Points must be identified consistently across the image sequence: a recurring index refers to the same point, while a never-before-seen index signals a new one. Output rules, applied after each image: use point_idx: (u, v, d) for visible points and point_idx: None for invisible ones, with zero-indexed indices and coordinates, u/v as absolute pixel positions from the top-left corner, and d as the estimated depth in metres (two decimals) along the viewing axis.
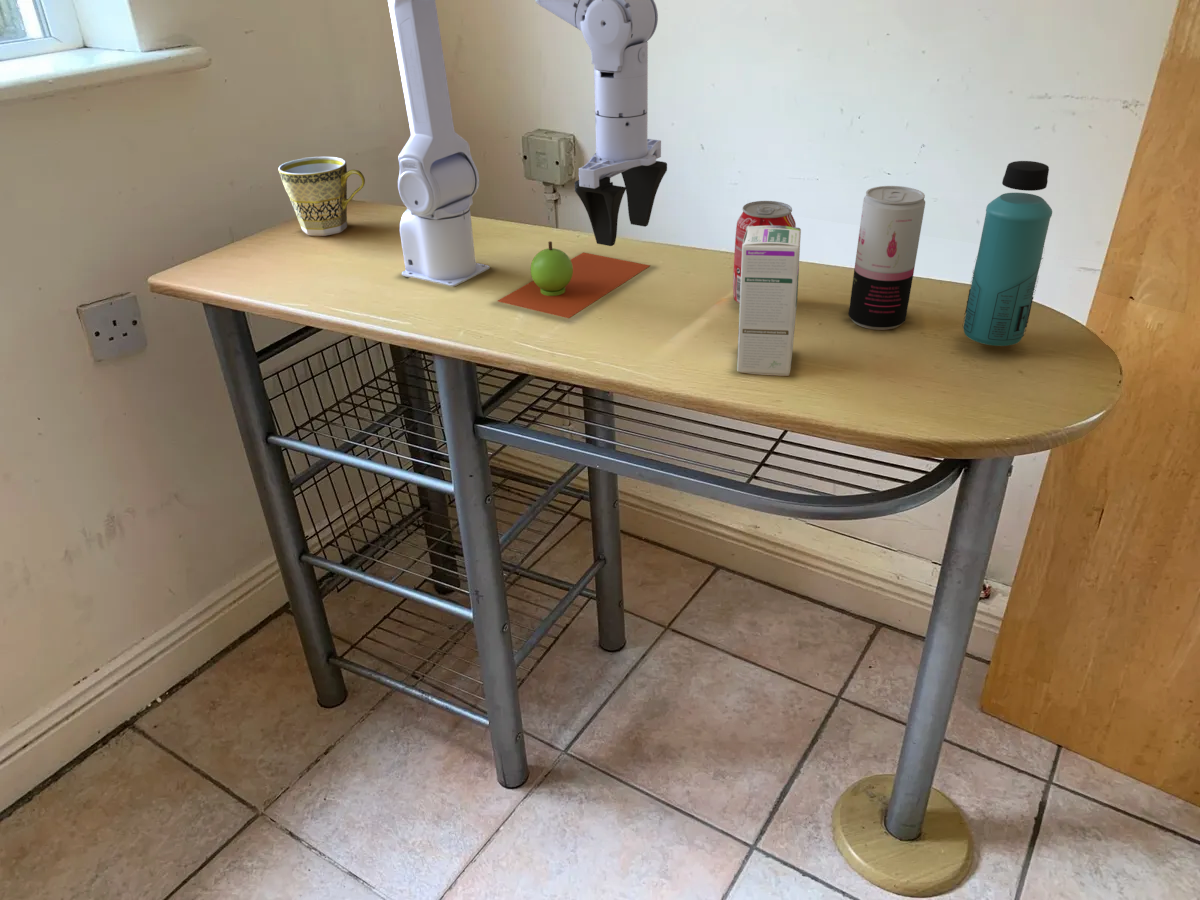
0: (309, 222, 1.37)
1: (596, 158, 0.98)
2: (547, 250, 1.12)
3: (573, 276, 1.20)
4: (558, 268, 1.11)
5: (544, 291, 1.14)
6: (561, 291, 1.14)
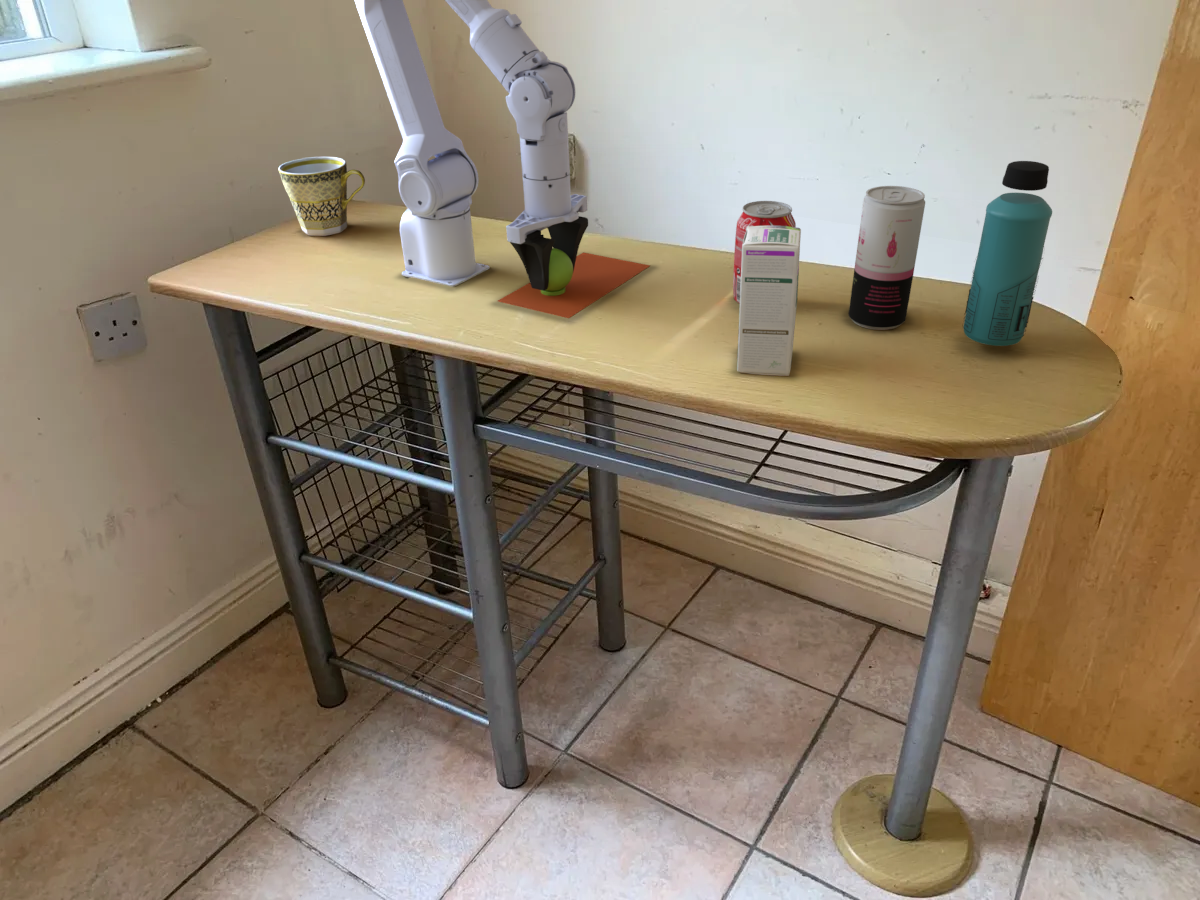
0: (309, 222, 1.37)
1: (524, 215, 1.09)
2: None
3: (573, 276, 1.20)
4: (558, 268, 1.11)
5: (544, 291, 1.14)
6: (561, 291, 1.14)
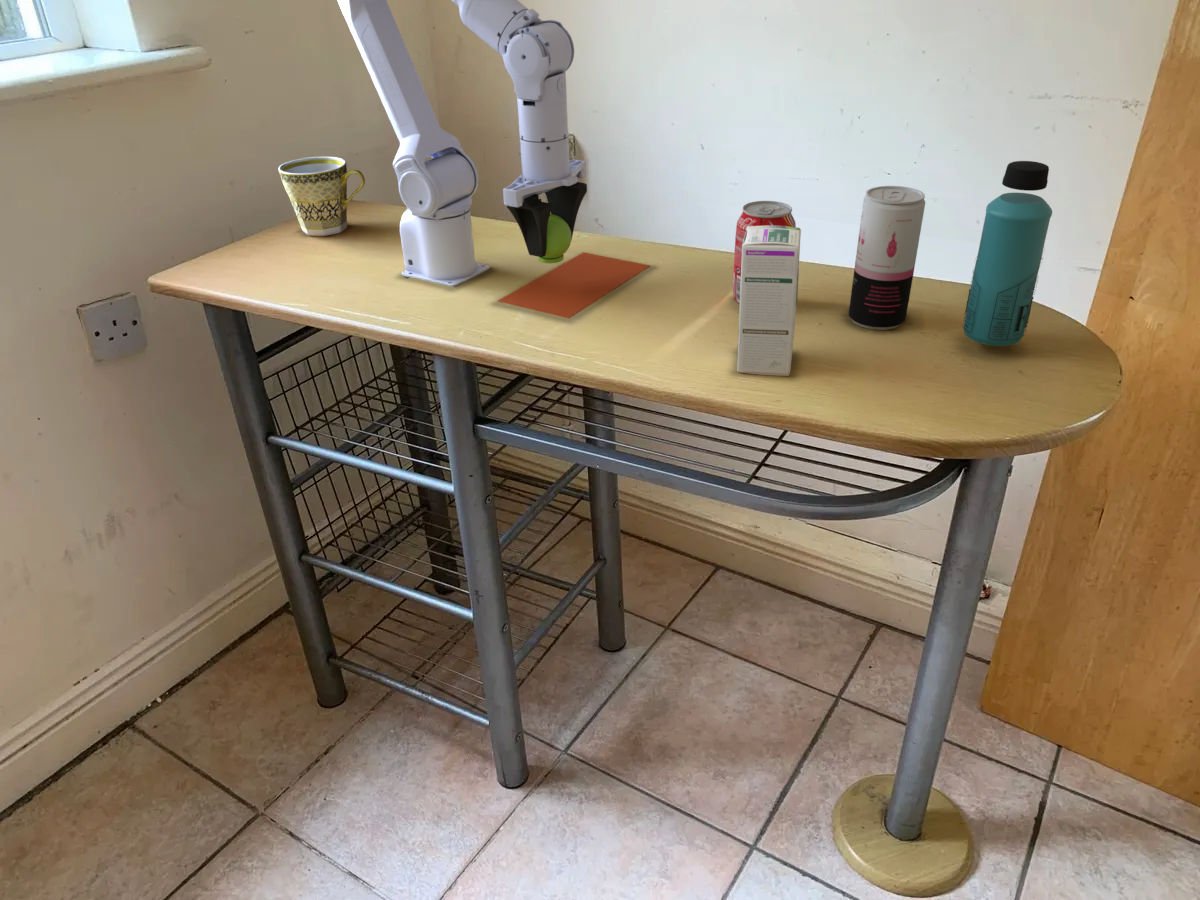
0: (309, 222, 1.37)
1: (522, 178, 1.06)
2: None
3: (573, 276, 1.20)
4: (556, 234, 1.09)
5: (542, 258, 1.12)
6: (559, 258, 1.12)
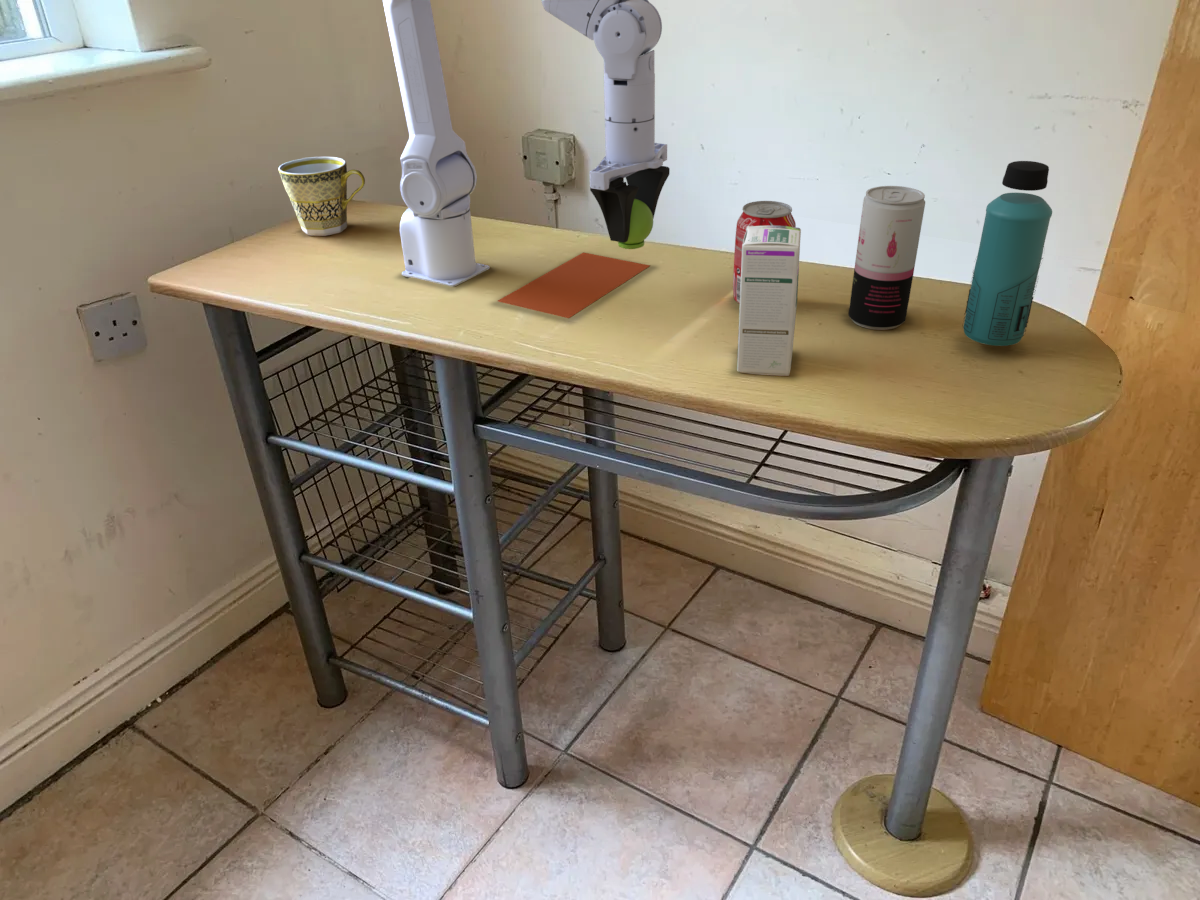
0: (309, 222, 1.37)
1: (606, 161, 1.03)
2: None
3: (573, 276, 1.20)
4: (639, 218, 1.06)
5: (623, 244, 1.09)
6: (640, 244, 1.09)
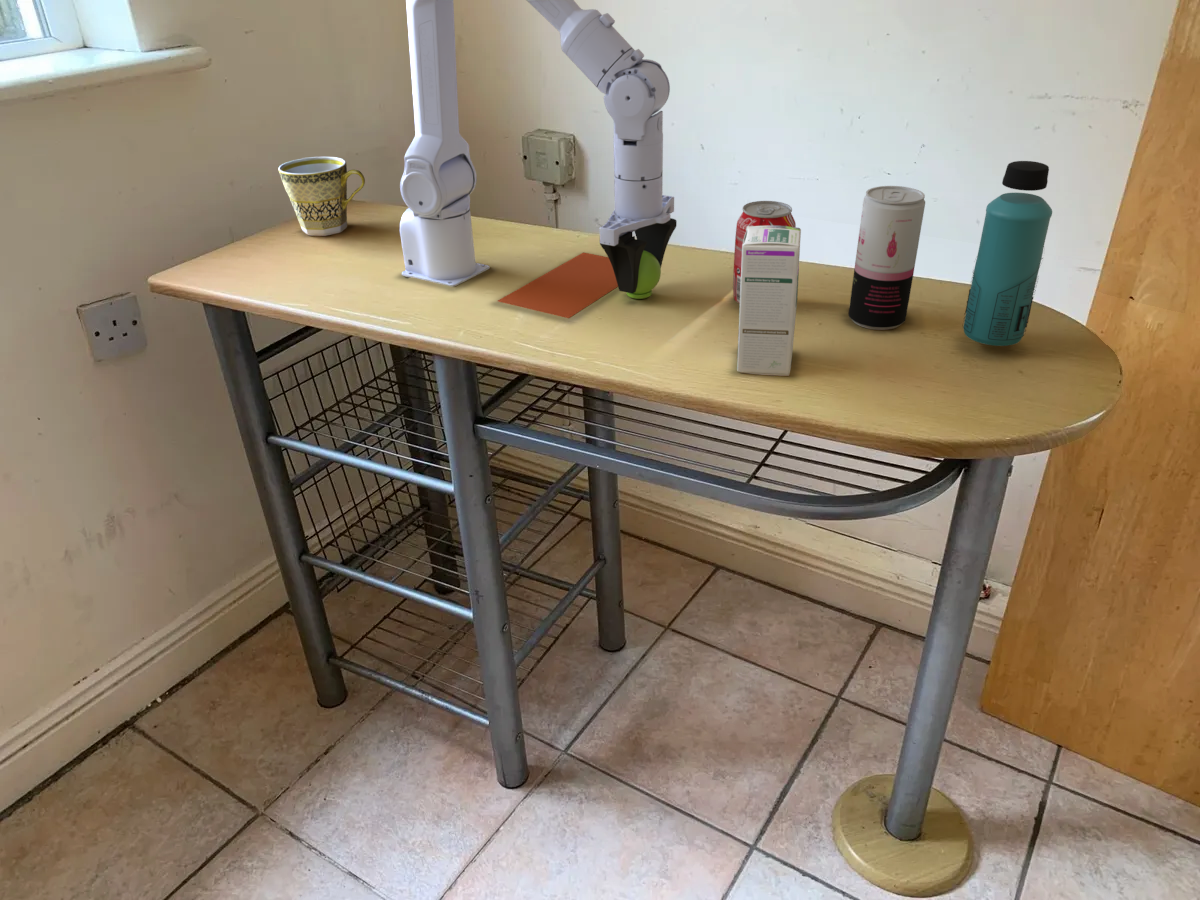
0: (309, 222, 1.37)
1: (615, 216, 1.07)
2: None
3: (573, 276, 1.20)
4: (647, 270, 1.09)
5: (631, 294, 1.12)
6: (648, 294, 1.12)
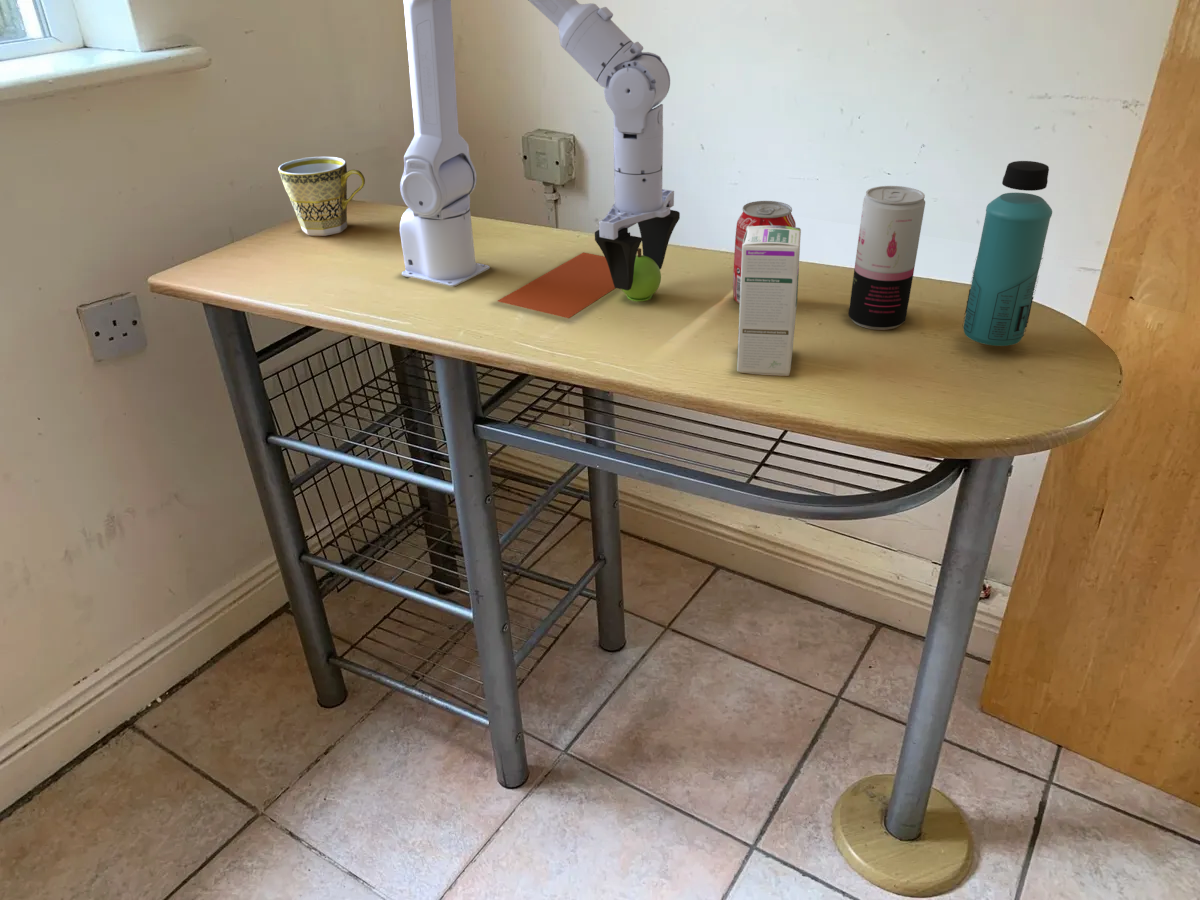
0: (309, 222, 1.37)
1: (614, 210, 1.06)
2: (636, 257, 1.10)
3: (573, 276, 1.20)
4: (648, 275, 1.09)
5: (631, 299, 1.12)
6: None
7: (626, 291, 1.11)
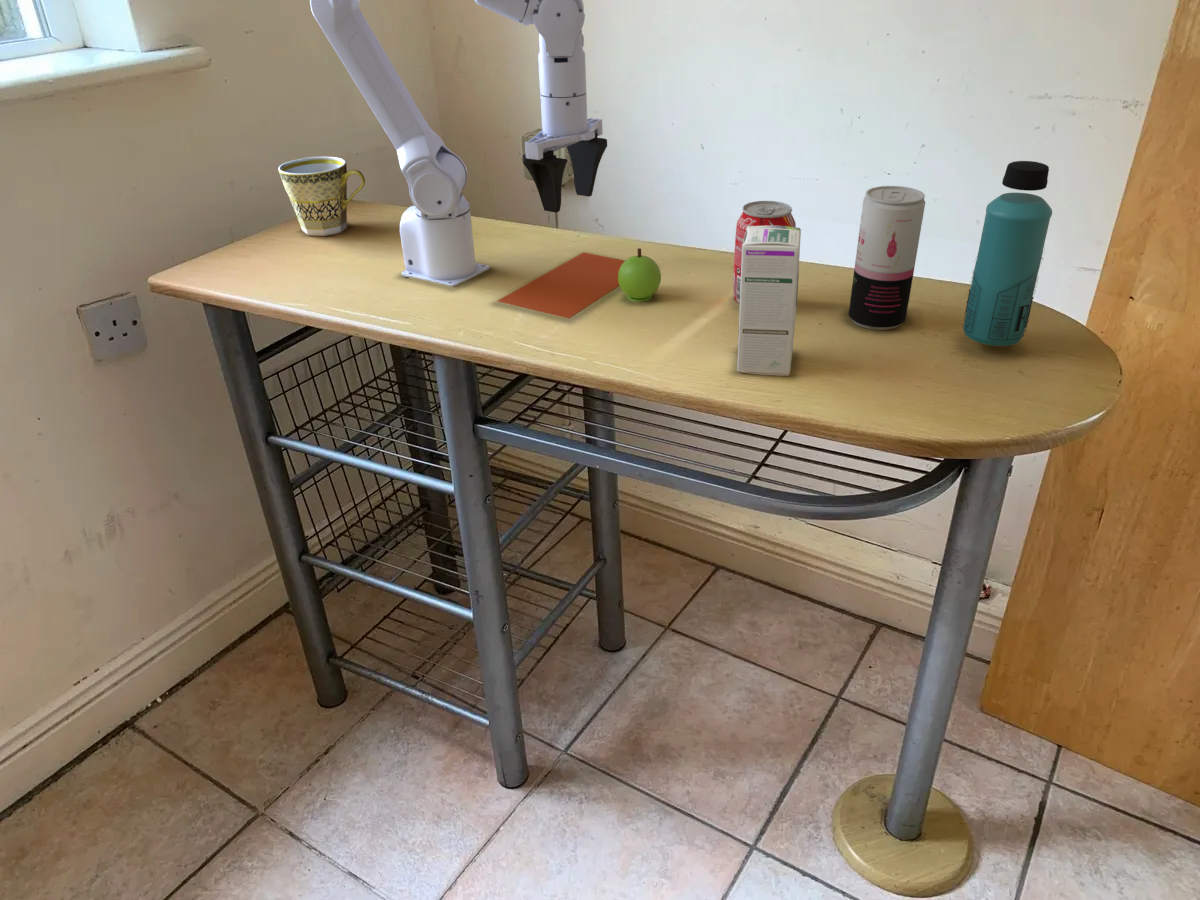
0: (309, 222, 1.37)
1: (542, 134, 1.12)
2: (636, 257, 1.10)
3: (573, 276, 1.20)
4: (648, 275, 1.09)
5: (631, 299, 1.12)
6: None
7: (626, 291, 1.11)
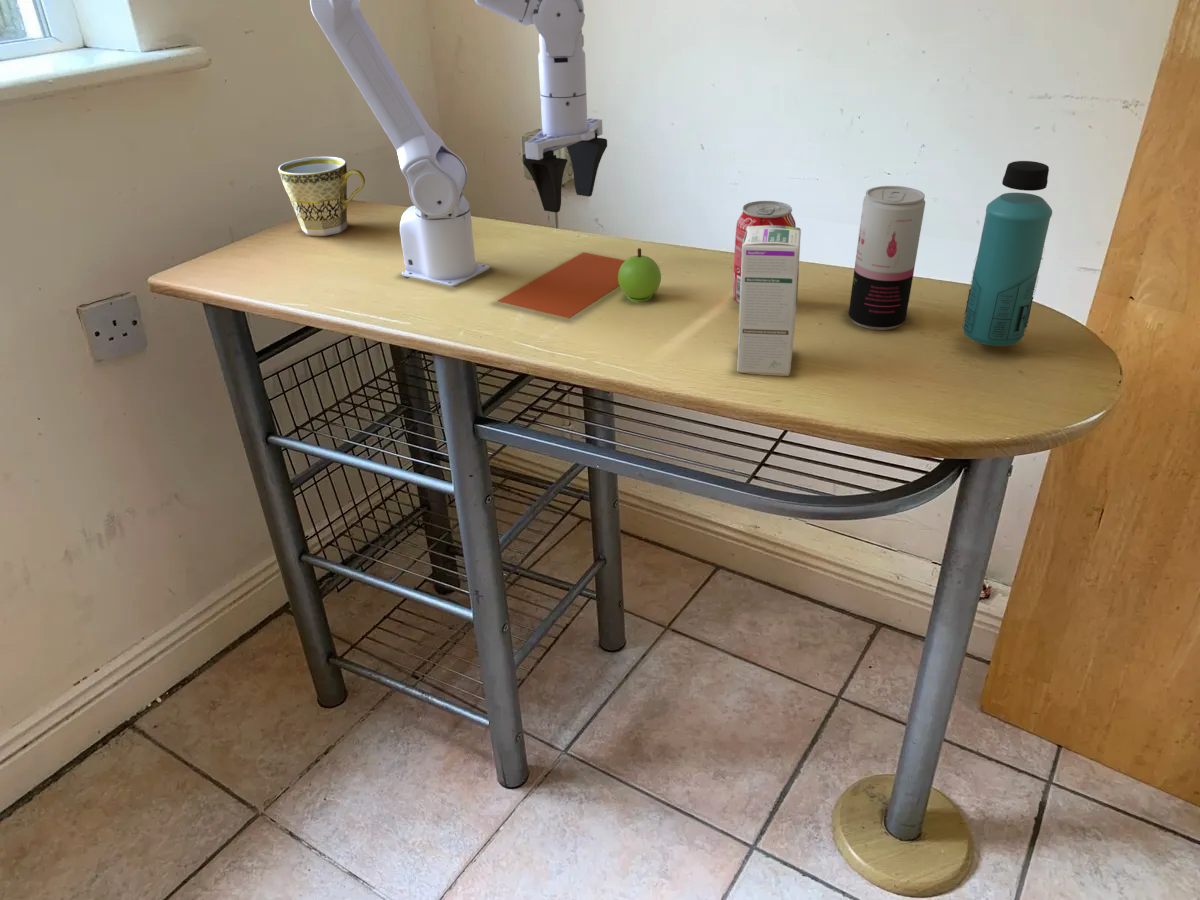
0: (309, 222, 1.37)
1: (542, 134, 1.12)
2: (636, 257, 1.10)
3: (573, 276, 1.20)
4: (648, 275, 1.09)
5: (631, 299, 1.12)
6: None
7: (626, 291, 1.11)
